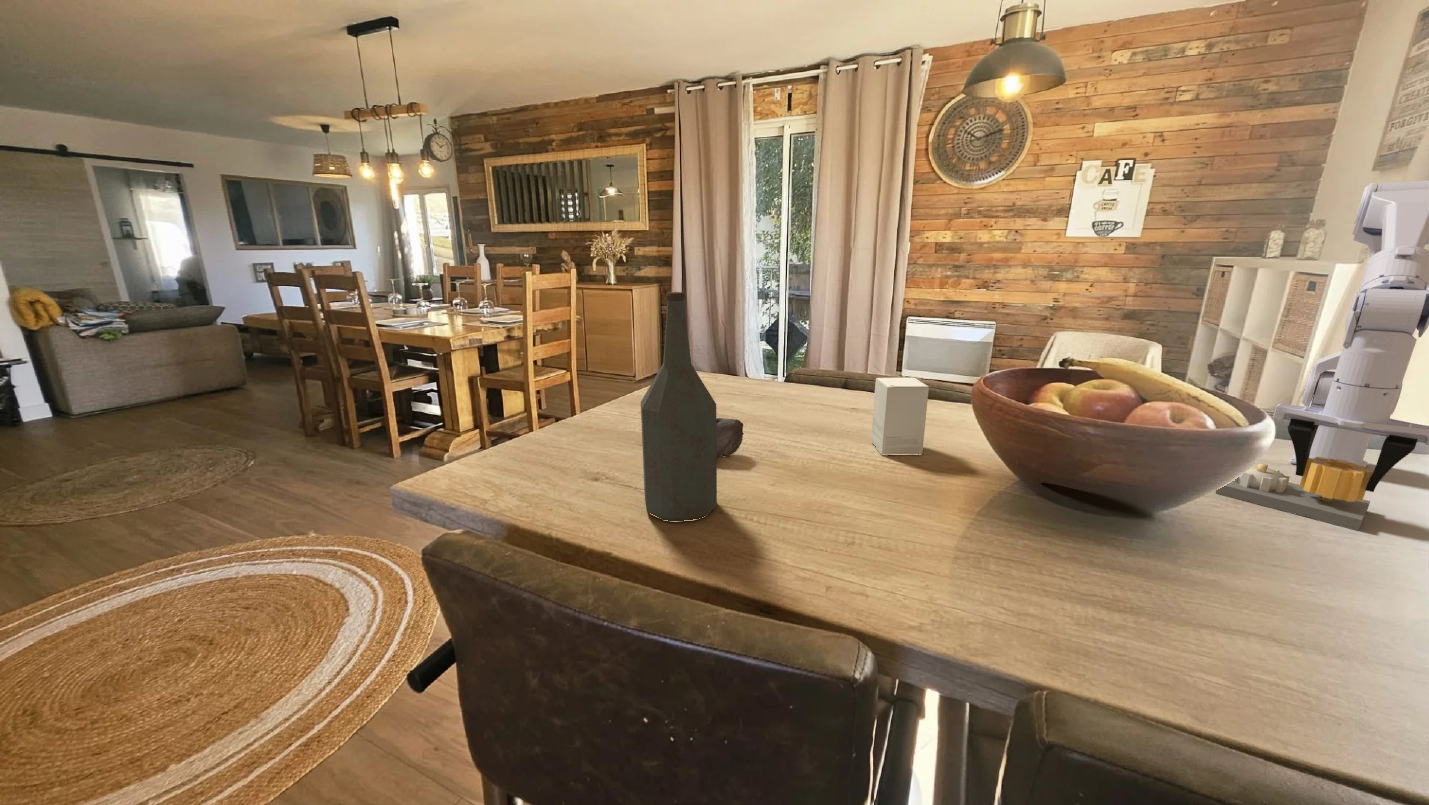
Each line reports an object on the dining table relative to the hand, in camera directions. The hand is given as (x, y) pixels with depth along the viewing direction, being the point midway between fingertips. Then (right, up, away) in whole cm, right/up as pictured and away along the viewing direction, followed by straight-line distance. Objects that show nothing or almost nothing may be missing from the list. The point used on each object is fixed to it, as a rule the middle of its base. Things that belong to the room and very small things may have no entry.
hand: (1333, 481), depth 74 cm
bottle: (-89, -4, +3) cm, 89 cm away
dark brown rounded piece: (-86, +1, +23) cm, 89 cm away
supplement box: (-51, +2, +26) cm, 57 cm away
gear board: (-2, -3, +4) cm, 6 cm away
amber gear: (0, -2, 0) cm, 2 cm away
